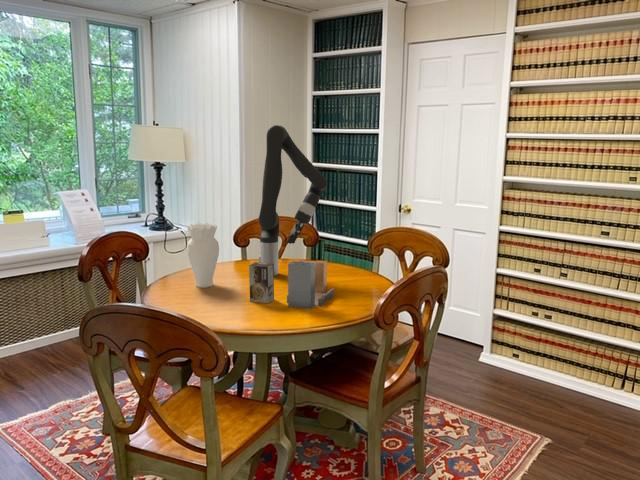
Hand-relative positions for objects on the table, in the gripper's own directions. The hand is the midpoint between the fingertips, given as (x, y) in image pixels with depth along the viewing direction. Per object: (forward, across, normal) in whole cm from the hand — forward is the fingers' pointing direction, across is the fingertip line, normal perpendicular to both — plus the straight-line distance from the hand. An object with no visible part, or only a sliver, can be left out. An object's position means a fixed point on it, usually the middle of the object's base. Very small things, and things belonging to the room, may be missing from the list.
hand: (290, 243), depth 260 cm
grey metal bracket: (+21, +28, +14) cm, 38 cm away
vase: (+36, -5, -27) cm, 46 cm away
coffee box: (+30, +24, -4) cm, 39 cm away
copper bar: (+15, +16, +20) cm, 30 cm away
